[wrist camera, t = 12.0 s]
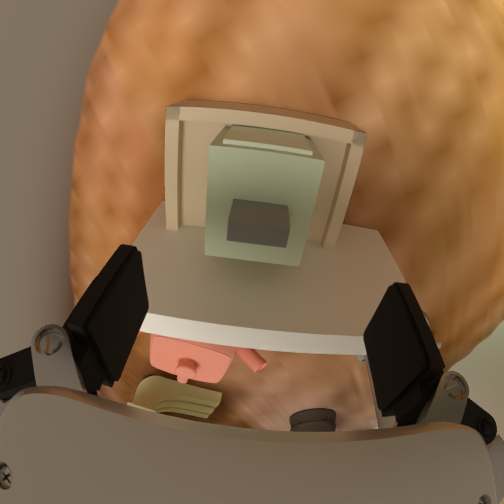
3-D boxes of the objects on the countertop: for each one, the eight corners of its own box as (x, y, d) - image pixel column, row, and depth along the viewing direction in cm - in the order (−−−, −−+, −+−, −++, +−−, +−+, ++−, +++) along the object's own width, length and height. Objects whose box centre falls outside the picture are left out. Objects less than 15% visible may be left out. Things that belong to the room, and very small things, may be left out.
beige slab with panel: (407, 139, 21) (506, 210, 10) (371, 245, 28) (417, 353, 17) (163, 99, 21) (62, 138, 9) (163, 218, 28) (104, 322, 16)
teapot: (236, 254, 30) (224, 330, 22) (270, 324, 36) (269, 392, 28) (133, 282, 34) (102, 345, 25) (178, 339, 40) (162, 398, 32)
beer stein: (282, 411, 54) (283, 495, 39) (331, 403, 51) (338, 490, 36) (299, 426, 63) (301, 494, 47) (339, 419, 60) (345, 489, 45)
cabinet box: (309, 133, 19) (336, 171, 12) (292, 220, 23) (302, 292, 16) (225, 122, 18) (199, 153, 12) (218, 211, 23) (197, 280, 16)
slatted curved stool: (145, 348, 42) (115, 445, 28) (236, 375, 45) (227, 473, 30) (138, 404, 59) (123, 466, 44) (199, 422, 61) (190, 483, 47)
